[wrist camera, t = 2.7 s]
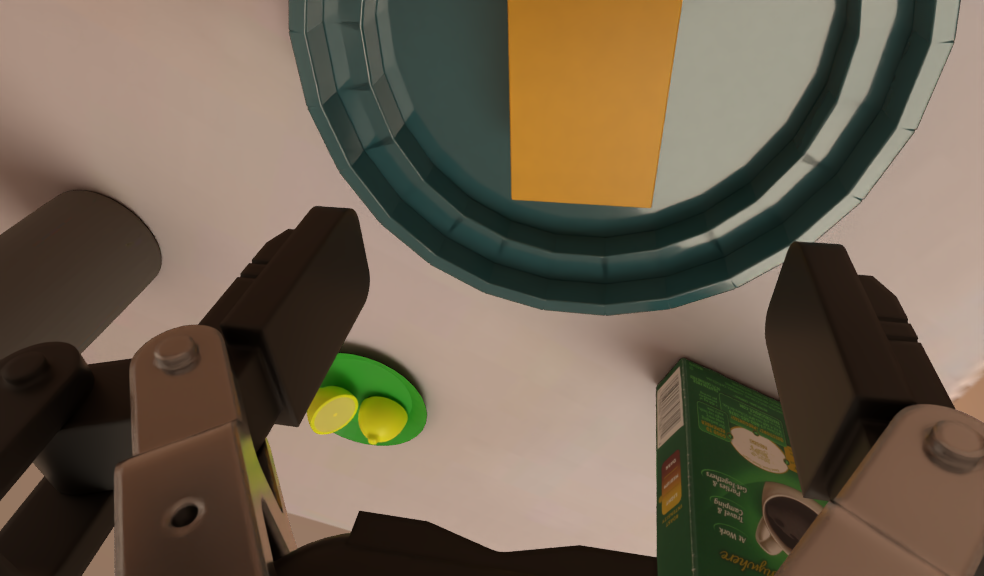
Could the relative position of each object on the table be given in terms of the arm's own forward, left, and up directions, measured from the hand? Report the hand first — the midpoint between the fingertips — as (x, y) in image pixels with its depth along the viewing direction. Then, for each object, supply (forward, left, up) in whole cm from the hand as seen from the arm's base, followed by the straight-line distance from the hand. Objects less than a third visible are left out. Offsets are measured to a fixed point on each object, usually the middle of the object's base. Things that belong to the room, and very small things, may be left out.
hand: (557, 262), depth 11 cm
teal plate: (0, 0, -12) cm, 12 cm away
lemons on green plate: (+20, -12, -13) cm, 26 cm away
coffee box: (+17, +8, -13) cm, 22 cm away
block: (0, 0, -12) cm, 12 cm away
